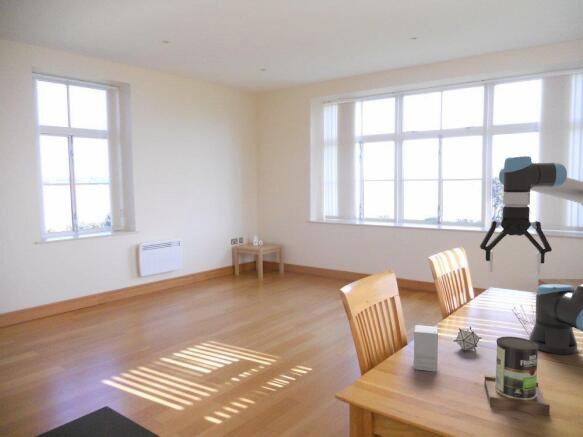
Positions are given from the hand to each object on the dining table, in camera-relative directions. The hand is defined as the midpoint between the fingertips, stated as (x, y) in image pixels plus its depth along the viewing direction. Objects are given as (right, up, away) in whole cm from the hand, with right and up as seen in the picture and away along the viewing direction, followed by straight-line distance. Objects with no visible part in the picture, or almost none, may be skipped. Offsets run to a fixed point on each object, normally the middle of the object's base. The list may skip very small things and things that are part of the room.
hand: (513, 272), depth 139 cm
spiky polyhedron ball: (-8, -30, +18) cm, 36 cm away
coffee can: (-9, -31, -18) cm, 37 cm away
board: (-9, -33, -17) cm, 38 cm away
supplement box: (-27, -32, +4) cm, 42 cm away
